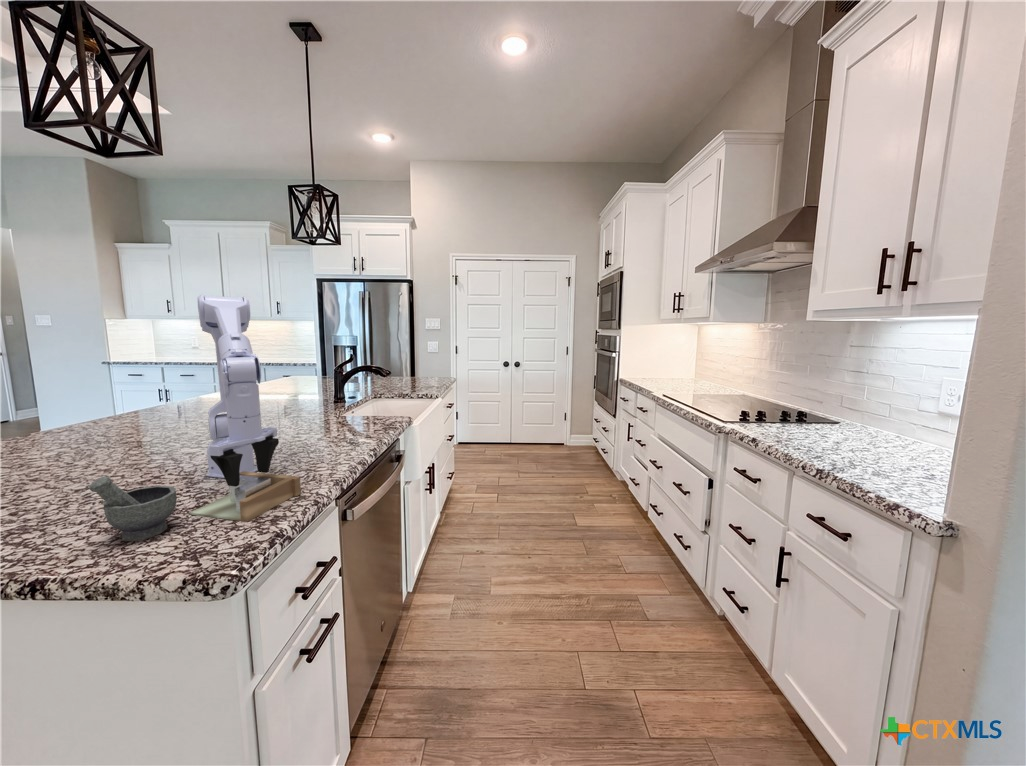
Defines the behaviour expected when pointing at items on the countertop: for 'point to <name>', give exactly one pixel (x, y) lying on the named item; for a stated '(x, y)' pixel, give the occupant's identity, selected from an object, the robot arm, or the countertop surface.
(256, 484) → the bracket
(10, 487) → the countertop surface
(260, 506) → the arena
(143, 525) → the mortar and pestle
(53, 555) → the countertop surface
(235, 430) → the robot arm
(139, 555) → the countertop surface
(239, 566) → the countertop surface
